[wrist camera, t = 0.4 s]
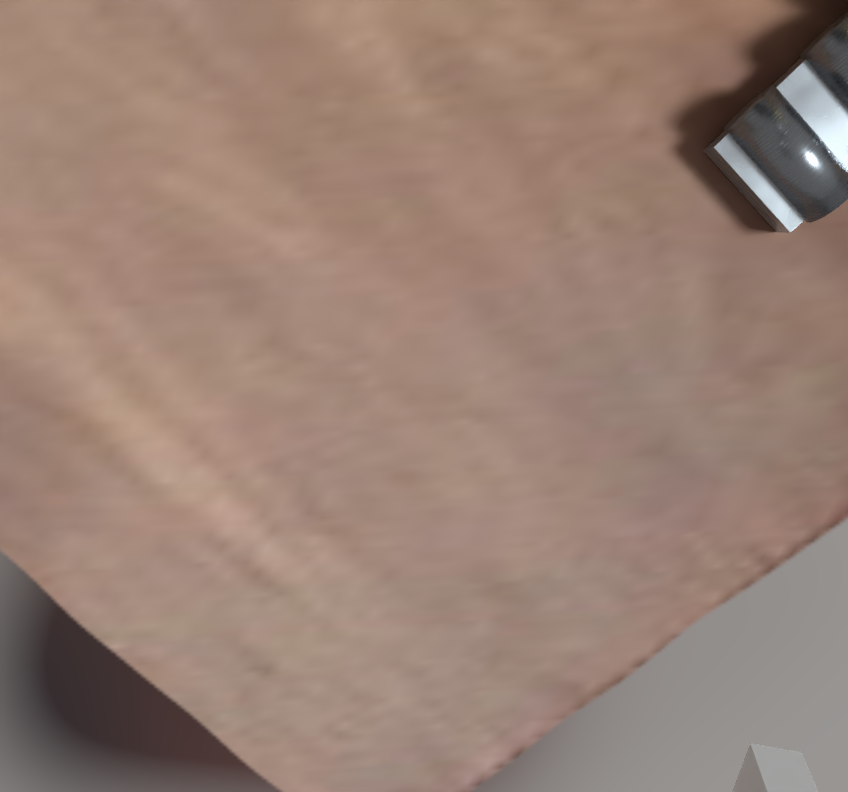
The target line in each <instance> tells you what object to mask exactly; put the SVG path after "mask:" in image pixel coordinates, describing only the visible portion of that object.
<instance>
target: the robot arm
mask: <svg viewBox="0 0 848 792" xmlns="http://www.w3.org/2000/svg"><path fill="white" fill-rule="evenodd" d="M733 792H818V790H817V787H816V785H815V783H814V780H813V778H812V776H811V774H810V771H809V769H808V766H807V764H806V762H805V759H804V757H803V755H802V752H798V751H792V750H786V749H780V748H774V747H768V746H762V745H757V744H750V746H749V748H748V751H747V754H746V757H745V759H744V762H743V765H742V767H741V770H740V773H739V775H738V778H737V781H736V783H735V786H734V789H733Z"/></svg>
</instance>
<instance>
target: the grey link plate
mask: <svg viewBox="0 0 848 792" xmlns="http://www.w3.org/2000/svg"><path fill="white" fill-rule="evenodd" d="M846 1H847V3H848V0H846ZM800 57H801V58H800V59H799V60H798V61H796V62H795V63H794V64H793V65H792V66H791V67H790V68H789V69H788V70H787V71H786V72H785V73H784V74H783V75H782V76H781V77H780V78H779V79H778V80H777V81H776V82H774V83H773V84H772V85H771V86H770V87H768V88H767V89H765V90H764V91H762V92H761V93H760V94H758V95H757V96H756V97H755V98H754V99H752V100H751V101H750V102H749V103H748V104H747V105H745V106H744V107H743V108H742V109H741V110H740V111H739V112H738V113H737V114H736V115H735V116H734V117H733V118H732V119H731V120H730V121H729V122H728V123H727V125H726V126H725V127H724V131H723V132H722V133H721V134H720V135H719V136H718V137H717V138H716V139H715V140H714V141H713V142H712V143H711V144H710V145H709V146H707V147H706V148H705V149H704V150H703V151H704V152H705V153H706V155H707V156H708V157H709V158H710V159H711V160H712V161H713V162H714V163H715V165H716V166H717V167H718V168H719V169H720V170H721V171H722V172H723V173H724V175H725V176H726V177H727V178H728V179H729V180H730V181H731V182H732V183H733V185H734V186H735V187H736V188H737V189H738V190H739V191H740V192H741V193H742V195H743V196H744V197H745V198H746V199H747V200H748V201H749V202H750V203H751V205H752V206H753V207H754V208H755V209H756V210H757V211H758V212H759V213H760V215H761V216H762V217H763V218H764V219H765V220H766V221H767V222H768V223H769V225H770V226H771V227H772V228H773V229H774V230H775V231H776V232H788V233H791V232H792V231H793V230H794V229H795V228H796V227H797V226H798V225H799V224H801V223H802V222H803V221H804V220H805V221H806V222H813V221H816V220H818V219H820V218H822V217H824V216H826V215H827V214H829V213H830V212H832V211H833V210H835V209H836V208H837V207H839V206H840V205H841V204H843V203H844V202H845V201H846V200H847V199H848V12H846V13H845V14H844V15H842V16H841V17H840V18H838V19H837V20H836V21H835V22H833V23H832V24H831V25H830V26H829V27H827V28H826V29H825V30H824V31H823V32H822V33H821V34H819V35H818V36H817V37H816V38H815V39H814V40H813V41H812V42H811V43H810V44H809V45H808V46H807V47H806V48H805V49H804V50H803V52H802V53H801V54H800Z"/></svg>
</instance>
